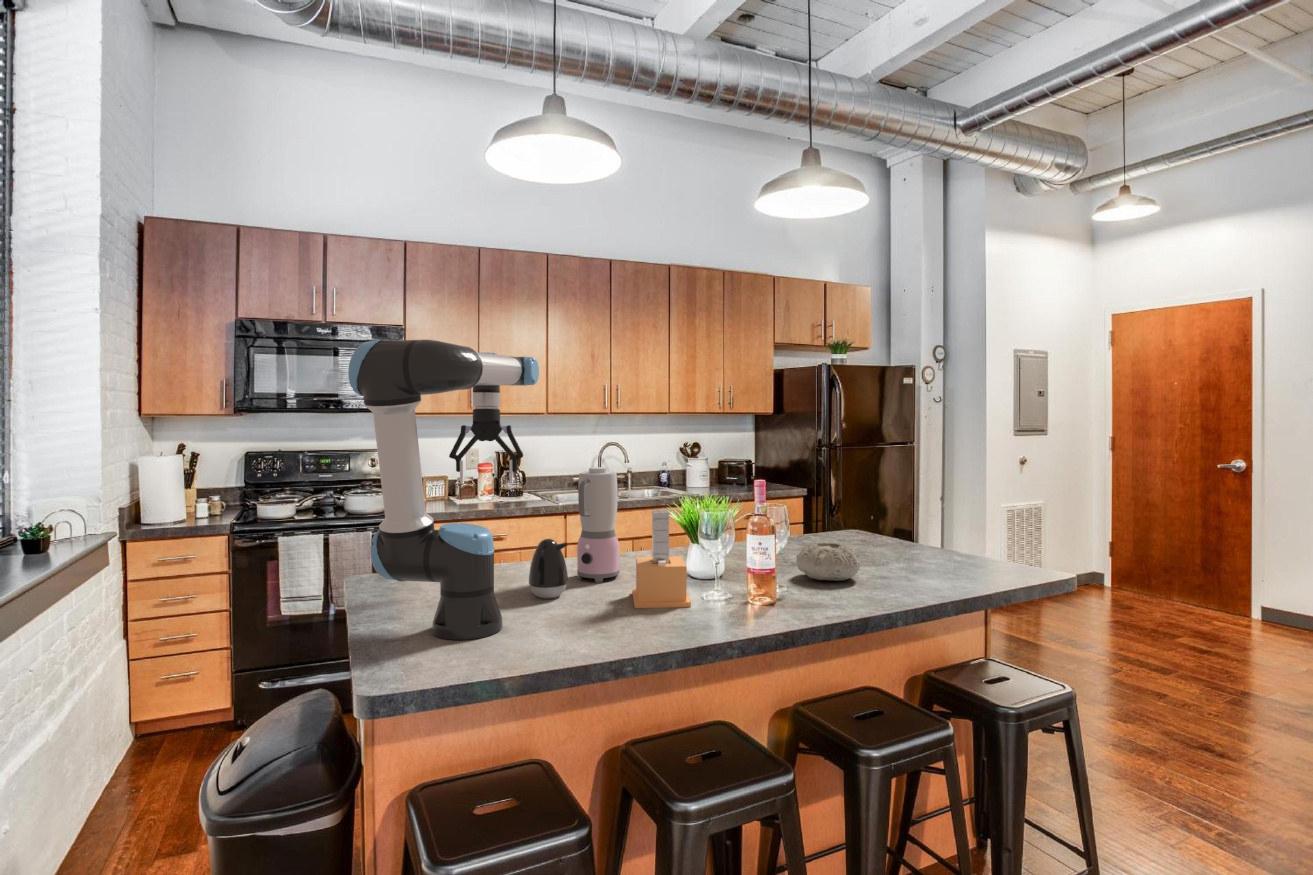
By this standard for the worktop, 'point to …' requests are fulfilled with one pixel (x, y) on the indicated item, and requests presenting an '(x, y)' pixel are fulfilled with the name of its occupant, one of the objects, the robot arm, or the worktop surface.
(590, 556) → the blender
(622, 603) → the worktop surface
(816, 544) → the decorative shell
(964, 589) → the worktop surface
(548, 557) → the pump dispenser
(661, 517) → the column
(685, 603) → the housing
